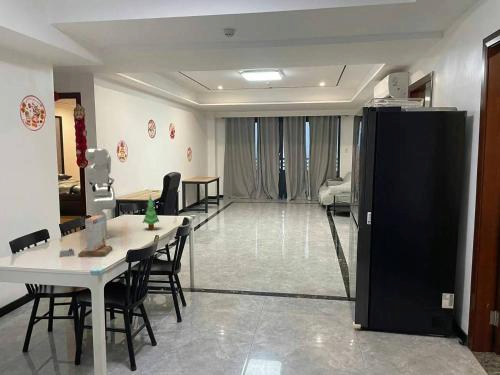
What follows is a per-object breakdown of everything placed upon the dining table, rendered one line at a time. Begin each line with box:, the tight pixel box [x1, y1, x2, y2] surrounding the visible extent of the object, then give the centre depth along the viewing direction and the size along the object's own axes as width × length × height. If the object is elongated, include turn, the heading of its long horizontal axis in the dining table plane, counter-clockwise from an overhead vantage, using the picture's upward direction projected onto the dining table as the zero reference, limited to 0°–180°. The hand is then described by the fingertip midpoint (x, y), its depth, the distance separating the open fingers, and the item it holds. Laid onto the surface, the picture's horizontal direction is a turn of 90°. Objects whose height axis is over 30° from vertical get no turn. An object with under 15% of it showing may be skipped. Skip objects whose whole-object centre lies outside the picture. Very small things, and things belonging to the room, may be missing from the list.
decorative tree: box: [142, 194, 160, 231], centre depth 301 cm, size 14×16×30 cm
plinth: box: [77, 245, 113, 258], centre depth 231 cm, size 16×16×3 cm
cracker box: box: [84, 215, 107, 251], centre depth 230 cm, size 14×6×21 cm, turn 176°
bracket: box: [59, 248, 75, 258], centre depth 227 cm, size 5×8×4 cm, turn 115°
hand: (101, 191), depth 245 cm, fingers open, 9 cm apart
